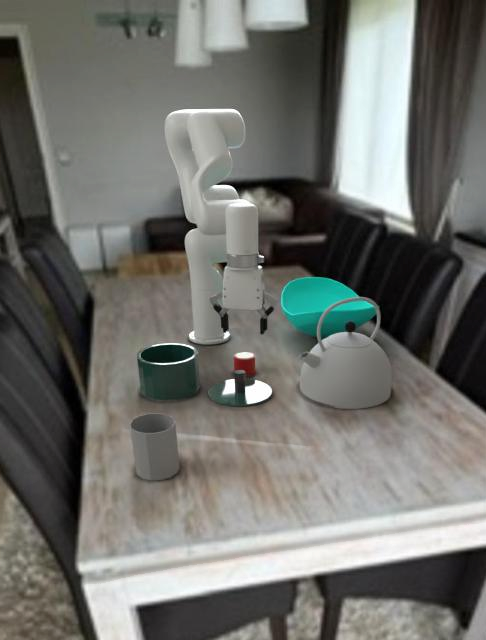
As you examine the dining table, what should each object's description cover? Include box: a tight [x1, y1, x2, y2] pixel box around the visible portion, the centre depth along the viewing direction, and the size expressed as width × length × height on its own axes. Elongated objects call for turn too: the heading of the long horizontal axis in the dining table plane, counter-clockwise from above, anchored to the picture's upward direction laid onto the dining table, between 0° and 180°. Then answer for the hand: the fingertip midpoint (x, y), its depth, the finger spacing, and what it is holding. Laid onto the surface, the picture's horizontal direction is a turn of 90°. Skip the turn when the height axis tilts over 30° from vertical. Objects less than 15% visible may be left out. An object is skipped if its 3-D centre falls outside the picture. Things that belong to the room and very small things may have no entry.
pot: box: [136, 342, 201, 401], centre depth 140 cm, size 15×15×10 cm
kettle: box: [299, 296, 393, 410], centre depth 135 cm, size 25×23×22 cm
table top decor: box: [280, 276, 380, 340], centre depth 173 cm, size 40×28×13 cm
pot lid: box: [207, 370, 273, 408], centre depth 137 cm, size 16×16×6 cm
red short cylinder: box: [233, 351, 256, 377], centre depth 149 cm, size 6×6×5 cm
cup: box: [129, 412, 180, 481], centre depth 107 cm, size 8×8×10 cm
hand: (244, 332), depth 144 cm, fingers open, 9 cm apart
